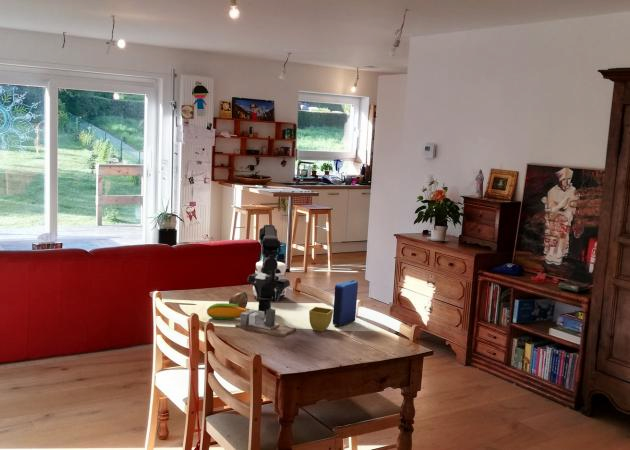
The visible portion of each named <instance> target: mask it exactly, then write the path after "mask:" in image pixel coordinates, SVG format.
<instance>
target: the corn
mask: <svg viewBox="0 0 630 450" xmlns="http://www.w3.org/2000/svg"><path fill="white" fill-rule="evenodd" d="M235 306H239V305H236V304H229V302H228V303H225V302H224V303H215V304H212V305H210V306H209V307H207V309H206V314H207V316H209V317H210V318H212V319H214V320H220V321H221V320H223V321H224V320H227V321H233V320H236V319H240V313H243V312H246V311H248V309H247V308H240V307H235Z"/></svg>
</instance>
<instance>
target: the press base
mask: <svg viewBox="0 0 630 450" xmlns="http://www.w3.org/2000/svg"><path fill="white" fill-rule="evenodd" d="M247 310H248V309H247ZM257 311H258V309H253V308H252V309H249V310H248V311H246V312H243V313H240V318H239V322H238V323H236V324H235V325H234V327H235V328H239V329H243V330H248V331H252V332H258V333H261V334H267V335H269V336H270V335H271V336H276V337H280V338H283V337H286V336H287V335H290V334H291V333H294V332H295V331H297V328H296V327H292V326H286V325H283V324H280V325H279V326H278V327H276V328H274V329H271V330H267V329H263V328H258V327H253V326H249V314H252V313H254V312H257Z"/></svg>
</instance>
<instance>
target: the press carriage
mask: <svg viewBox="0 0 630 450" xmlns="http://www.w3.org/2000/svg"><path fill="white" fill-rule="evenodd" d="M264 313H265V312H263V311H258V310H257V312H254V313H252V314H249V326H253V327H258V328H263V329H267V330H271V329H274V328H276V327H278V326H279V325H281V324H280V323H276V309H275V308H274V309H273V308H271V309H270V308H269V309H267V310H266V315H265V314H264Z"/></svg>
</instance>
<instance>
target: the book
mask: <svg viewBox="0 0 630 450" xmlns="http://www.w3.org/2000/svg"><path fill="white" fill-rule="evenodd" d="M358 291H359V282H358V280H357V281H356V280H353V279H350V280H348V281H344V282H341V283H336V284H335V285H334V297H333V314H332V325H333V326H338V327H343V326H347V325H349V324H350V323H354V322H356V314H357V302H358V301H357V300H358Z"/></svg>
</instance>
